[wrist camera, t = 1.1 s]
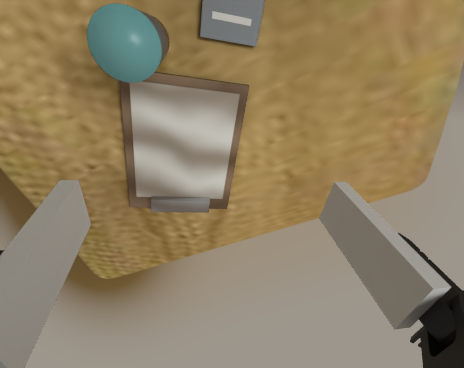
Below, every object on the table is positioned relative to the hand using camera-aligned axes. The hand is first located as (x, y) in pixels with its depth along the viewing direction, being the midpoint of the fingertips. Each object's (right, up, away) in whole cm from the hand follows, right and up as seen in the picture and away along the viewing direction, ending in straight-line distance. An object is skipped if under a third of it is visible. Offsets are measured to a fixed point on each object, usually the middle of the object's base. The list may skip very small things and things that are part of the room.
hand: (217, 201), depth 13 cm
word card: (+1, +18, +12) cm, 21 cm away
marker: (-8, +16, +11) cm, 21 cm away
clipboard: (-6, +5, +18) cm, 20 cm away
